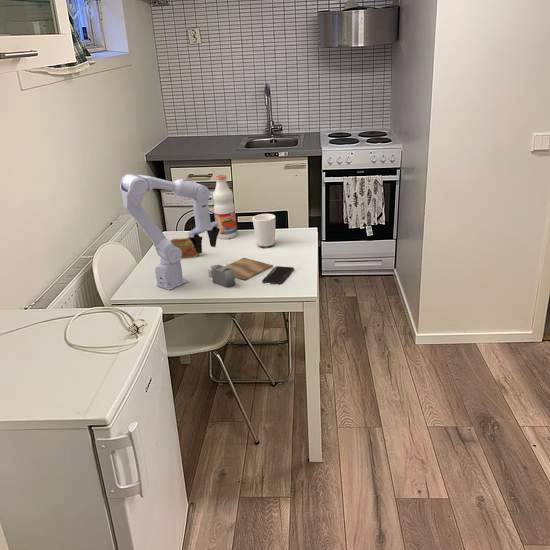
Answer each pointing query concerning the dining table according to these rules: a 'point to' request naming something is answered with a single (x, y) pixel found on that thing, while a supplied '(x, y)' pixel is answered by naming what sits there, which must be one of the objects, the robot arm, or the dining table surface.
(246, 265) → the board
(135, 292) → the dining table surface
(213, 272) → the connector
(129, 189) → the robot arm
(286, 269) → the phone
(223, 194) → the fruit juice
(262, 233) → the cup
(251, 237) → the dining table surface
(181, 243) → the tin
